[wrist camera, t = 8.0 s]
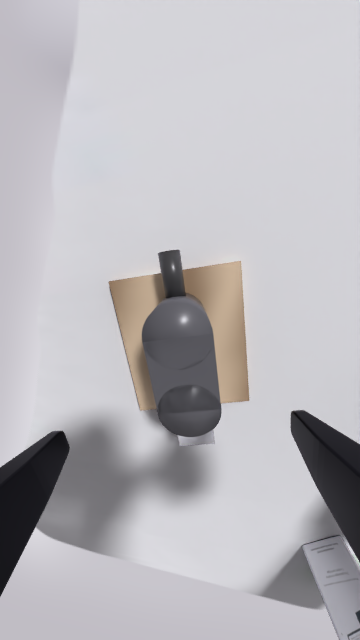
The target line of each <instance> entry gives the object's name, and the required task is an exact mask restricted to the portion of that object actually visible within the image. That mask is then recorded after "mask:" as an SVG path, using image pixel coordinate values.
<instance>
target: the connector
mask: <svg viewBox="0 0 360 640" xmlns="http://www.w3.org/2000/svg"><path fill="white" fill-rule="evenodd" d="M158 256H159V262H160V268H161V274H162V280H163V286H164V292H165V298H164V299H163V300H162V301H161V302H160V303H159V304H158V305H157V307H156V308H155V309H154V310H153V311H152V312H151V314H150V315H149V316H148V317H147V319H146V320H145V323H144V325H143V328H142V343H143V348H144V352H145V357H146V362H147V366H148V371H149V375H150V380H151V385H152V389H153V394H154V399H155V403H156V408H157V412H158V416H159V419H160V421H161V423H162V424H163V426H164V427H165V428H166V429H168V430H169V431H170V432H172V433H174V434H176V435H178V440H179V445H180V446H186V445H201V444H215V440H214V432H213V429H214V428H215V427H216V426H217V424H218V422H219V420H220V418H221V402H220V392H219V383H218V373H217V364H216V354H215V345H214V335H213V329H212V326H211V323H210V321H209V318H208V316H207V313H206V311H205V308H204V306H203V304H202V303H201V301H200V300H199V299H198V298H196V297H195V296H193V295H191V294H189V293H186V292H185V285H184V278H183V271H182V263H181V256H180V250H171V251H165V252H160V253H158Z"/></svg>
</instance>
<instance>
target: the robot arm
mask: <svg viewBox="0 0 360 640" xmlns="http://www.w3.org/2000/svg"><path fill="white" fill-rule="evenodd" d="M291 433H292V436H293V438H294V440H295V442H296V444H297V446H298V448H299V451H300V453H301V455H302V457H303V459H304V461H305V463H306V465H307V468H308V470H309V472H310V474H311V476H312V478H313V480H314V482H315V484H316V486H317V488H318V490H319V492H320V494H321V495H322V497H323V499H324V501H325V502H326V504H327V506H328V508H329V509H330V511H331V513H332V515H333V516H334V518H335V520H336V522H337V523H338V525H339V527H340V529H341V530H342V532H343V534H344V536H345V537H346V539H347V541H348V543H349V544H350V546H351V548H352V550H353V551H354V553H355V555H356V557H357V558H358V560H359V562H360V444H358V443H357V442H355V441H353V440H352V439H350V438H349V437H347V436H345V435H344V434H342V433H340V432H339V431H337V430H335V429H334V428H332V427H331V426H329V425H327V424H326V423H324V422H322V421H321V420H319V419H318V418H316V417H314V416H313V415H311V414H309V413H308V412H306V411H304V410H297V411H292V412H291ZM69 449H70V447H69V443H68V441H67V438H66V436H65V433H64V432H63V431H53V432H51V433H49V434H48V435H46V436H45V437H43V438H42V439H41V440H39V441H38V442H36V443H35V444H33V445H32V446H31V447H29V448H28V449H26V450H25V451H23V452H22V453H21V454H19V455H18V456H16V457H15V458H13V459H12V460H10V461H9V462H8V463H6V464H5V465H3V466H2V467H0V596H1V594H2V592H3V590H4V588H5V586H6V584H7V582H8V580H9V578H10V576H11V574H12V572H13V570H14V568H15V566H16V564H17V562H18V560H19V558H20V556H21V555H22V552H23V551H24V548H25V546H26V545H27V543H28V541H29V539H30V537H31V535H32V533H33V530H34V529H35V527H36V525H37V523H38V521H39V519H40V517H41V515H42V513H43V511H44V509H45V507H46V505H47V502H48V500H49V498H50V496H51V494H52V491H53V489H54V487H55V484H56V482H57V479H58V477H59V475H60V472H61V470H62V468H63V465H64V463H65V460H66V458H67V456H68V453H69Z"/></svg>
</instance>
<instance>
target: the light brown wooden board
mask: <svg viewBox="0 0 360 640" xmlns="http://www.w3.org/2000/svg"><path fill="white" fill-rule="evenodd" d="M182 271H183V278H184V285H185V292H186V293H189V294H191V295H193V296H195V297H196V298H198V299H199V300H200V301H201V303H202V304H203V306H204V308H205V311H206V313H207V316H208V318H209V321H210V323H211V326H212V329H213V335H214V345H215V354H216V364H217V373H218V383H219V392H220V402H221V403H229V402H240V401H249V387H248V371H247V354H246V337H245V320H244V303H243V287H242V270H241V261H237V262H231V263H224V264H218V265H212V266H205V267H199V268H192V269H186V270H182ZM109 285H110V289H111V293H112V298H113V302H114V306H115V310H116V314H117V318H118V322H119V326H120V330H121V334H122V338H123V342H124V346H125V350H126V354H127V358H128V362H129V366H130V370H131V374H132V378H133V382H134V386H135V390H136V394H137V398H138V402H139V406H140V410H152V409H157V408H156V403H155V399H154V394H153V389H152V385H151V380H150V375H149V371H148V366H147V362H146V357H145V352H144V348H143V343H142V328H143V325H144V323H145V320H146V319H147V317H148V316H149V315H150V314H151V312H152V311H153V310H154V309H155V308H156V307H157V305H158V304H159V303H160V302H161V301H162V300H163V299H164V298H165V292H164V286H163V280H162V274H161V273H160V274H154V275H148V276H141V277H135V278H128V279H122V280H116V281H109Z"/></svg>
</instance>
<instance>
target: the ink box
mask: <svg viewBox="0 0 360 640" xmlns="http://www.w3.org/2000/svg"><path fill="white" fill-rule="evenodd" d="M302 548H303V551H304V554H305V556H306V559H307V561H308V564H309V566H310V569H311V571H312V574H313V576H314V579H315V581H316V584H317V586H318V589H319V591H320V594H321V596H322V599H323V601H324V604H325V606H326V609H327V611H328V613H329V616H330V618H331V621H332V624H333V626H334V628H335V631H336V633H337V636H338V638H339V640H360V567H359V565H358V564H357V562H356V560H355V559H354V557H353V555H352V554H351V552H350V550H349V549H348V547H347V546H346V544H345V542H344V541H343V539H342V538H341V536H336V537H331V538H328V539H324V540H320V541H316V542H312V543H309V544H306V545H303V547H302Z"/></svg>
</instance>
